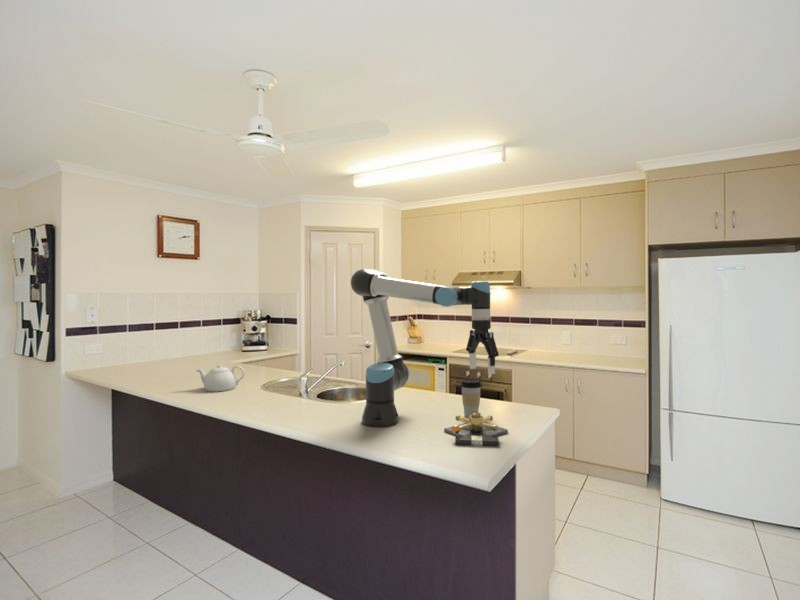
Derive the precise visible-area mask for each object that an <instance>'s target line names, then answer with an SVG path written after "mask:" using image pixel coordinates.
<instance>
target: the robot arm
mask: <svg viewBox="0 0 800 600" xmlns="http://www.w3.org/2000/svg"><path fill="white" fill-rule="evenodd" d="M350 287H351V290H352V291H353V292H354V293H355V294H356V295H358V296H361V297H362V299H363V303H364V304H366V305H367V306H368V311H369V316H370V320H371V324H372V329H373V335H374V339H375V344H376V349H377V353H378V359H377V361H376V363H373V364H370V365H369V366H368V367H367V368H366V369H365V407H364V409H363V413H362V415H361V416H362V417H361V422H362V424H363V425H364V426H368V427H375V428H383V427H391V426H393V425H397V424H398V423H399V414H398V411H397V407H396V404H395V391H398V389H399V390H400V388H403V387H404V386H405V385H406V384H407V382H408V381H409V378H410V369H409V367H408V365H407V364H406V363H405V362H404V359H403V356H402V355H400V354H399V353H398V348H397V343H396V339H395V334H394V328H393V324H392V320H391V316H390V310H389V307H388V305H389V304H388V300H389V299H390V297H391V298H397V299H404V300H409V301H414V302H416V301H417V302H422V303H428V304H434V305H440V306H442V307H453V306H462V305H463V306H466V305H468V306H471V319H472V320H471V329H470V330H469V337H468V341H467V344H466V348H465V350H466V352H468V354H469V358H468V359H469V370H474V369H477V352H476V350H477V349H478V346H479V344H480V343H481V344H482V345H483V346H484V348H485V349H484V350H486V351H485V352H486V353H487V355H488V357H487V375H495V374H496V367H495V366H496V358H497V357H499V351H498V348H497V345H496V341H495V337H494V332H493V331H491V332H489V330H490V329H492V328H491V327H492V326H491V323H492V322H491V288H490V283H489V281H485V280H484V281H481V280H480V281H472V282H471V285H470V286H448V285H447V286H446V285H441V284H440V285H439V284H438V285H437V284H435V283H434V284H432V283H425V282H419V281H412V280H405V279H398V278H392V277H388V275H387V274H386V273H385V272H383V271H381V270H378V269H367V268H363V269H359V270H357V271H355V272H354V273H353V274H352V276H351V279H350Z"/></svg>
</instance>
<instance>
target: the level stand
mask: <svg viewBox="0 0 800 600" xmlns="http://www.w3.org/2000/svg"><path fill="white" fill-rule="evenodd" d="M485 423H486V424H490V423H489V422H488V423H487V422H485ZM465 424H468V423H466V422H463V423H460V424H456V425H457V426H462V425H465ZM490 425H492V424H490ZM453 426H454V425H452V426H448V427H445V428H444V429H443V431H444V433H447V434H449V435H453V436H454V437H455V441H454V442H455V446H475V447H477V446H478V447H496V446H500V441H499V436H502V435H506V434H508V433H509V430H508V429H506V428H504V427H500V426H498V430H497V431H493V430H491V429H488V428H484V427H483V431H480V432H474V431H470V430H469V427H468V428H465V429H462V430H460V432H459V433H457V434H454V433H453V432H452V427H453ZM505 433H506V434H505ZM495 436H496V437H495Z"/></svg>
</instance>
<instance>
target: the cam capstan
mask: <svg viewBox="0 0 800 600" xmlns="http://www.w3.org/2000/svg"><path fill="white" fill-rule="evenodd" d="M493 417H494V416H493V415H487V416H486V417H484V416H483V415H482V414H481V412H479V411H478V412H472V413H471V415H470V416H469V417H464V416H461V415H460V414H457V415H455V420H456V421H457V422H462V423H468V424H465V425H462V426H457V425H458V424H454V425H452V426H453V427H452V426H451V427H452V432H453V433H454V434H457V433H459V432H460V430H462V429H465V428H468V427H469V430H470V431H474V432H480V431H483V427H484V428H488V429H491V430H493V431H497V430H498V427H499V426H498V425H496V424H491V425H490V423H489V422H492V421H493V420H494V418H493ZM487 422H488V424H486V423H487Z"/></svg>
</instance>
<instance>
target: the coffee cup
mask: <svg viewBox="0 0 800 600" xmlns="http://www.w3.org/2000/svg"><path fill="white" fill-rule="evenodd" d="M482 384H483V383H481V380H479V379H473V378H471V379H470V378H469V379H468V378H467V379H466V378H465V379H462V380H461V382H460V385H459V386H460V387H461V397H462V405H463V406H462V407H463V413H464V414H463V415H464V416H465V418H469V416H470V415H471V413H472V412H478V413H479V411H480V410H479V409H480V408H479V407H480V404H481V403H480V402H481V388H482V387H483V385H482Z"/></svg>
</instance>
